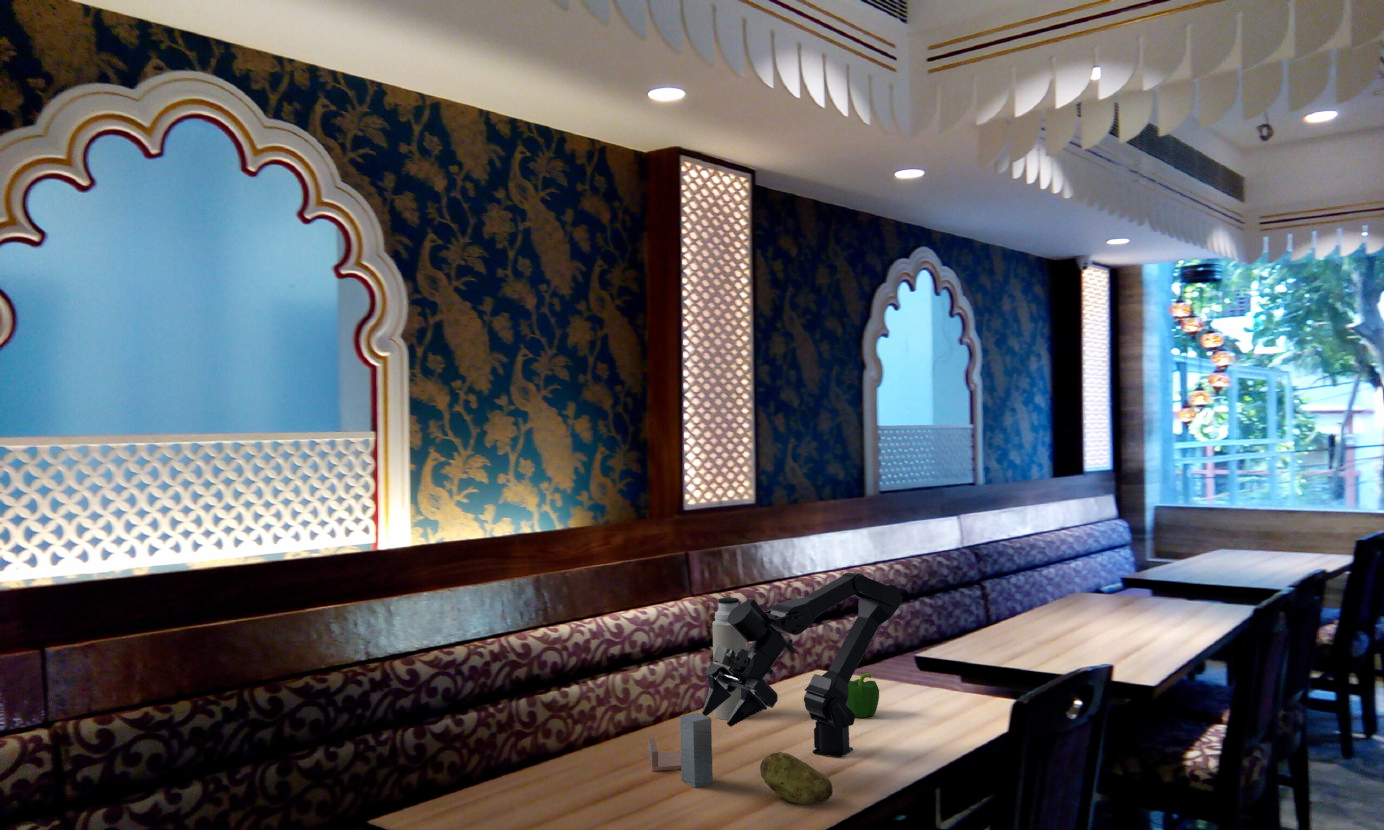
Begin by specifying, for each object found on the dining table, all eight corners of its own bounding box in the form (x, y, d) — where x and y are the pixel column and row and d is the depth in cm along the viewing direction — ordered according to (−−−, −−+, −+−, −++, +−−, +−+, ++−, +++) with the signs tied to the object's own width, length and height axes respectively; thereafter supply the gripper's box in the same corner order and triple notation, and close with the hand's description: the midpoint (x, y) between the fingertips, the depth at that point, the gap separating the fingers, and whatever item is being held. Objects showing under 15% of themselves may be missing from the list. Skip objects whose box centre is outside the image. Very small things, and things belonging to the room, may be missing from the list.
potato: (810, 814, 177) (809, 768, 177) (753, 798, 186) (752, 754, 186) (838, 801, 183) (836, 756, 183) (781, 786, 192) (780, 743, 192)
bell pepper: (838, 717, 239) (836, 674, 239) (851, 709, 246) (850, 668, 246) (871, 722, 234) (870, 678, 235) (884, 713, 241) (883, 671, 242)
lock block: (699, 776, 199) (697, 712, 199) (712, 783, 194) (711, 717, 195) (681, 780, 197) (680, 715, 197) (694, 787, 192) (693, 721, 193)
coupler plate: (695, 753, 214) (695, 734, 214) (702, 767, 204) (701, 748, 204) (648, 755, 213) (648, 737, 213) (652, 770, 203) (652, 751, 203)
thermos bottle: (722, 709, 248) (719, 595, 249) (752, 712, 245) (749, 596, 246) (709, 718, 241) (706, 599, 242) (740, 721, 238) (737, 601, 239)
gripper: (712, 624, 209) (666, 685, 203) (763, 637, 193) (715, 704, 187) (744, 658, 213) (700, 718, 207) (797, 674, 197) (751, 740, 191)
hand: (715, 719), depth 198 cm, fingers open, 9 cm apart
